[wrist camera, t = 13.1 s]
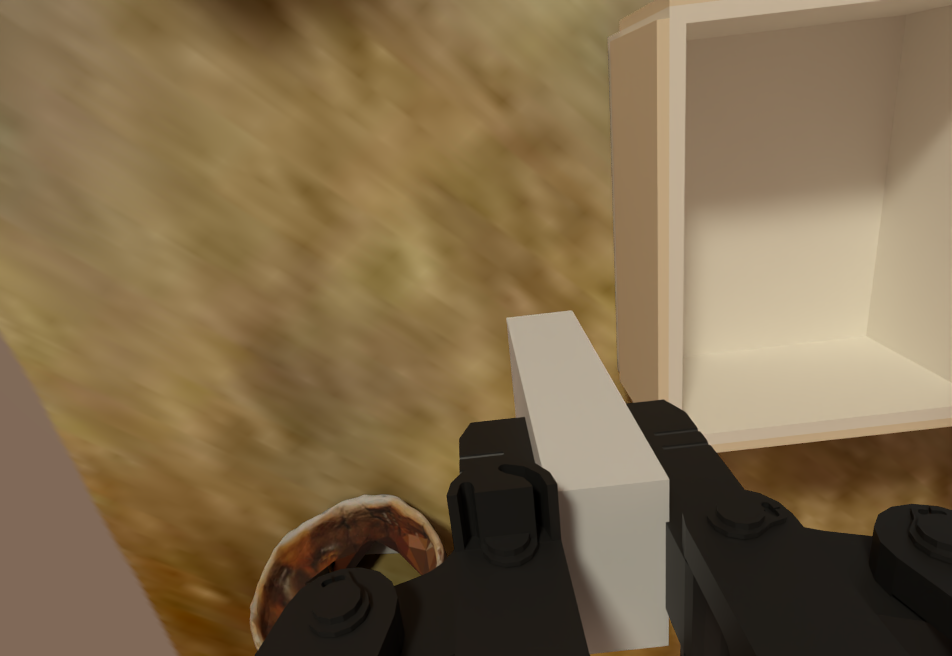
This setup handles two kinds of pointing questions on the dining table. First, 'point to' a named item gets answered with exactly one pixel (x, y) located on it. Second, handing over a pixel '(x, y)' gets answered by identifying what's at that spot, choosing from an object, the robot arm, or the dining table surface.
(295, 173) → the dining table surface
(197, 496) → the dining table surface
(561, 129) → the dining table surface
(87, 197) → the dining table surface
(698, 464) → the robot arm
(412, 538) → the dark rounded piece
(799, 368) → the carton
